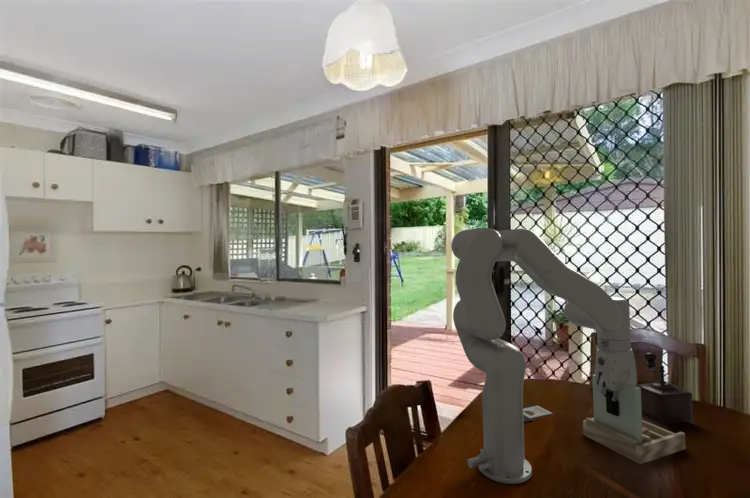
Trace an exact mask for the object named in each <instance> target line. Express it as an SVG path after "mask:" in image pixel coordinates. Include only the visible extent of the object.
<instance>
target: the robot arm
mask: <svg viewBox="0 0 750 498" xmlns="http://www.w3.org/2000/svg"><path fill="white" fill-rule="evenodd" d="M451 251H452V252H451V253H452V254H453V255H454V257H456V258H457V259H458V260H459V261H458V263H457V266H456V269H455V271H456V272H455V278H454V279H455V286H456V289H457V294H458V295H459V296H458V297H459V301H458V302H457V303H456V304H455V305H454V307H453V312H452V319H453V324H454V327H455V330H456V333H457V335H458V338H459V341H460V343H461V346H462V349H463V352H464V353H465V356H466V358H467V360H468V361H469V363H470V364H471V365H472V366H474V367H475V368H476V369H478V370H479V371H481V372H482V373H483V374H485V381H484V384H483V388H482V394H481V398H482V401H481V403H482V426H483V427H482V428H483V448H480V449H479V451H480V453H479V454H478V455H477V456H474V457H470V458H467V462H466V463H467V466H468V467H469V468H471V469H472V468H475V467H478V470H479V471H480V472H481V473H482V474H483V475H484V476H485V477H487V478H488V479H490V480H492V481H495V482H498V483H502V484H509V485H510V484H511V485H516V484H517V485H518V484H521V483H525V482H527V481H528V480H529V479H530V478H531V476H532V475H533V467H532V466H531V463H530V462H529V461H528V460H527V459H526V458H525V427H524V425H525V424H524V422H523V407H524V401H523V400H524V399H523V398H524V396H523V395H524V393H523V391H524V381H525V377H526V369H527V368H526V367H527V366H526V363H527V362H526V360H525V357H524V354H523V352H521V350H520V349H519V348H518V347H517V346H515V345H514V344H512V343H510V342H509V341H506V340H504V339H501V337H502V336H503V335H504V333H505V331H506V326H507V325H506V324H507V323H506V318H505V314H504V312H503V309H502V307H501V304H500V302H499V299H498V295H497V293H496V289H495V287H494V283H493V279H492V274H493V269H494V266H495V263H496V262H514V263H515V264H516V265H517V266H518V267H519V268H520V270H522V271H523V272H524V273H525V274H526V275H527V276H528V277H529V278H530V280H532V281H533V282H534V283H535V285H537V287H539V288H540V289H541V290H543V291H545V292H547V293H549V294H550V295H553V296H555V297H558V298H560V299H562V300H565V301H567V302H566V303H565V305H564V308H563V314H564V316H565V319H566V320H567V321H568V322H570V323H571V324H573V325H575V326H579V327H583V328H586V329H591V330H594V331H596V334H597V335H596V337H597V349H596V356H595V372H594V374H595V375H596V383H597V385H598V388H597V392H598V393H601V394H603V395H604V397H605V398H606V411H607V412H608V413H610V414H612V415H615V416H619V401H617V391H619V390H622V389H623V385H626V384H630V385H633V386H636V385H638V384H637V383H638V375H637V374H638V373H637V364H636V358H635V353H634V350H633V349H632V342H631V341H632V339H631V314H630V313H631V311H630V303H629V301H628V300H627V298H623V297H618V296H610V295H609V294H608V293H607V292H606V291H605V290H604V288H602V287H601V286H600V285H598V284H597V283H595V282H594V281H593V280H591V279H589V278H587V277H586V276H584V275H582V274H581V273H579V272H578V271H576V270H574V269H572V268H571V267H569V266H568V265H567V264H565V262H564V261H563V260H562V259H561V258H560V257H559V256H558V255H557V254H556V253H555V252H554V251H553V249H551V248H550V247H549V246H548V245H547V243H546V242H545V241H544V240H543V239H542V238H541V237H540V236H539V235H538V234H537V233H536V232H535V231H532V230H531V229H528V228H514V229H513V228H512V229H503V230H496V229H494V228H491V227H478V228H470V229H464V230H461V231H458V232H457V233H456V234H455V235H454V236H453V238H452V241H451ZM609 390H610V391H612V393H611V392H610V391H609Z"/></svg>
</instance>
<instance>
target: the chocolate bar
mask: <svg viewBox="0 0 750 498" xmlns="http://www.w3.org/2000/svg"><path fill="white" fill-rule="evenodd" d="M553 415H555V414H554V413H553V412H551V411H549V410H547V409H545V408H543V407H542V406H539V405H537V404H535V403H533V404H529V405H525V406H524V405H523V422H524V425H525V424H528V423H533V422H534V421H533V420H537V419H542V418H545V417H550V416H553Z"/></svg>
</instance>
